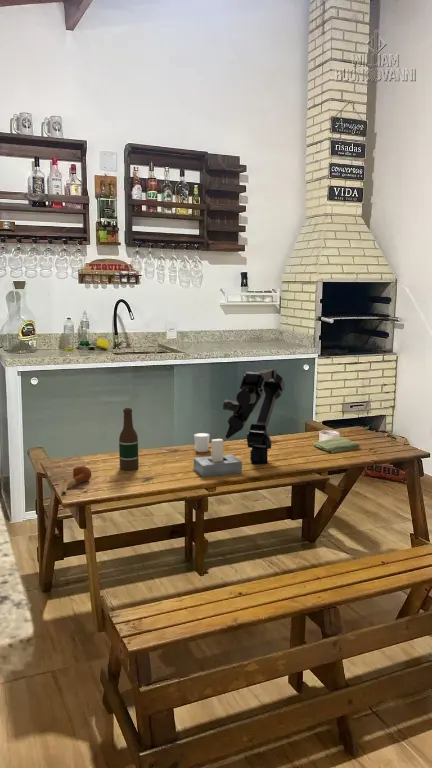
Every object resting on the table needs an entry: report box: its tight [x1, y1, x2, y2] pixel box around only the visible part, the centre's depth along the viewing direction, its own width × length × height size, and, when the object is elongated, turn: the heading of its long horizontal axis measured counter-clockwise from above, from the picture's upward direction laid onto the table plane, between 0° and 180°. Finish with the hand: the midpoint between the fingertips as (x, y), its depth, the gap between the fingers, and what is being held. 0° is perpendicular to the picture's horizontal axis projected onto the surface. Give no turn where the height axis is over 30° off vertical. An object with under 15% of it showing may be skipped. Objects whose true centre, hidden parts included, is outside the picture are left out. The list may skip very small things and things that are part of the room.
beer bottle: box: [118, 407, 140, 472], centre depth 254 cm, size 8×8×24 cm
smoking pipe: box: [61, 465, 92, 496], centre depth 234 cm, size 7×18×6 cm, turn 173°
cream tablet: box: [210, 438, 224, 462], centre depth 251 cm, size 4×2×12 cm, turn 109°
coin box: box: [193, 453, 243, 478], centre depth 252 cm, size 16×11×4 cm
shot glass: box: [193, 432, 211, 453], centre depth 281 cm, size 7×7×7 cm
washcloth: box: [313, 436, 361, 454], centre depth 285 cm, size 13×18×3 cm
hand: (228, 435), depth 256 cm, fingers open, 9 cm apart
